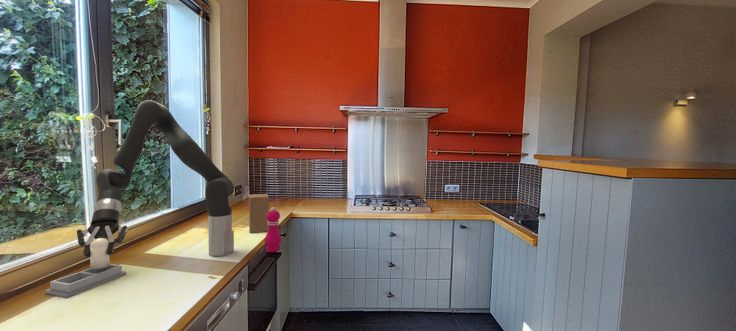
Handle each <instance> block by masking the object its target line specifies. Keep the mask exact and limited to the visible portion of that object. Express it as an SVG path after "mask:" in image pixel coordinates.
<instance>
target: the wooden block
mask: <svg viewBox="0 0 736 331" xmlns="http://www.w3.org/2000/svg"><path fill="white" fill-rule="evenodd" d="M269 197H270V196H269V194H268V193H261V194H260V193H258V194H255V193H253V194H249V198H248V199H249V200H248V201H249V203H248V204H249V205H248V206H249V208H248V209H249V211H248V212H249V225H248V226H249V228H248V231H249V232H248V233H249V234H255V233H258V234H259V233H267V232H268V224H267V223H268V220H267V218H266V215H267V213H268V212H269V210H270V208H269V207H270V202H269V200H270V198H269Z"/></svg>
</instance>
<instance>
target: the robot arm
mask: <svg viewBox="0 0 736 331" xmlns="http://www.w3.org/2000/svg"><path fill="white" fill-rule="evenodd" d="M152 125H153V126H154V127H156V128H157V129H158V130H159V131H160V133H162V134H163V135H164V136H165V138H166V139H167V141H168V145H169V146H170V149H171V150H172V152H173V153H174V154H175V156H176V157H177V158H178V159H179V160H180V161H181V162H182V163H183V164H184V165H185V166H186V167H188V168H189V169H191V170H193V171H194V172H196V173H197V174H198V175H200V176H201V177H203V179H205V181H206V182H207V184H206V186H205V208H206V210H207V214H208V215H207V216H208V220H207V221H208V223H207V225H208V229H207V230H208V232H207V233H208V240H207V241H208V243H207V244H208V255H209V256H211V257H221V256H222V257H225V256H226V255H229V254H231V253H233V252H235V245H234V244H235V234H234V233H235V232H234V230H233V224H232V223H233V222H232V221H233V219H232V218H233V214H232V213H233V208H232V207H231V206H230V205H229V197H230V196H231V195H233V194H234V192H235V185H234V183H233V182H232V180H231V179H230V178H229V177H228V176H227V175H225V173H223V171H221V170H220V169H219V168H218V167H217V166H216V164H214V162H213V161H212V160H211V159H210V157H209V156H208V155H207V154H206V152H204V150H203V149H202V148H201V147H200V145H198V143H197V142H196V141H195V140H194V139H193V138H192V137H191V136H190V135H189V133H187V131H185V130H184V129H183V128H182V127H181V126H180V124H179V123H178V122H177V120H176V119H175V117H174V115H172V113H171V112H170V109H168V108H167V106H165V105H163V104H161V103H159V102H157V101H154V100H151V99H148V100H147V99H146V100H144V101H142V102H140V103H139V104H138V105H137V107H136V109H135V112H134V116H133V118H132V121H131V124H130V127H129V129H128V132H127V134H126V137H125V139H124V141H123V143H122V145H121V146H120V148H119V150H117V153H116V154H115V156H114V158H113V161H112V163H113V164H114V165H116V166H118V167H119V168H122V169H123V172H121V171H118V170H113V169H109V168H105V169H102V170H100V171H99V172H98V174H97V176H96V180H95V181H96V185H97V191H98V197H97V199H96V200H97V202H96V204H95V206H94V209H93V214H92V217H91V222H90V226H89V227H88V228H86V229H83V230H82V229H78V230H76V236H77V243H78V245H79V247H80V248H84V249H83V256H84V257H85V258H86V259H88V258H89V259H90V244H91V242H92V241H94V240H95V239H98V238H105V239H108V242H109V243H108V248H107V255H109V256H111V254H113V253H114V250H115V246H116V245H118V244H121V243H123V241H124V239H125V237H126V235H127V233H128V231H129V228H128V226H127V225H123V226H122V225H121V226H120V225H119V222H120V217H121V212H122V211H121V210H122V201H123V192H122V191H123V190H126V189H127V188H128V187H129V186H130V184H131V181H132V176H133V171H134V168H135V165H136V164H137V162H138V161H139V159H140V157H141V155H142V153H143V150H144V147H145V146H144V145H145V141H146V136H147V133H148V131H149V130H150V128H151V126H152ZM118 231H119V233H118V235H117V237H116V238H114V236H113V235H115V234H116V232H118ZM88 233H89V234H90V235H89V237H88V238H87V240H86V241H85V237H86V236H87V234H88Z"/></svg>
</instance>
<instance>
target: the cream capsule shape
mask: <svg viewBox="0 0 736 331" xmlns="http://www.w3.org/2000/svg"><path fill="white" fill-rule="evenodd" d="M108 243H110V241H109V239H108V238H98V239H95V240H94V241H92V242H91V244H90V257H89V260H90V261H89V262H90V268H91V269H100V268H104V267H107V266H109V265H110V264H111V263H110V262H111V261H110V255H107V248H108Z"/></svg>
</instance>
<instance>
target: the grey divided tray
mask: <svg viewBox="0 0 736 331" xmlns="http://www.w3.org/2000/svg"><path fill="white" fill-rule="evenodd" d="M125 275H127V271H124V270H123V265H120V264H114V263H110V265H109V266H107V267H104V268H100V269H91V267H90V268H86V269H83V270H81V271H77V272H75V273H72V274H69V275H67V276H63V277H60V278H57V279H55V280H54V279H53V280H51V281H49V288H47V289H45V294H47V295H52V296H57V297H62V298H67V299H68V298H70V297H73V296H75V295H77V294H80V293H83V292H86V291H88V290H91V289H93V288H95V287H98V286H101V285H103V284H105V283H108V282H111V281H113V280H115V279H116V280H117V279H118V278H120V277H123V276H125Z"/></svg>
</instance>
